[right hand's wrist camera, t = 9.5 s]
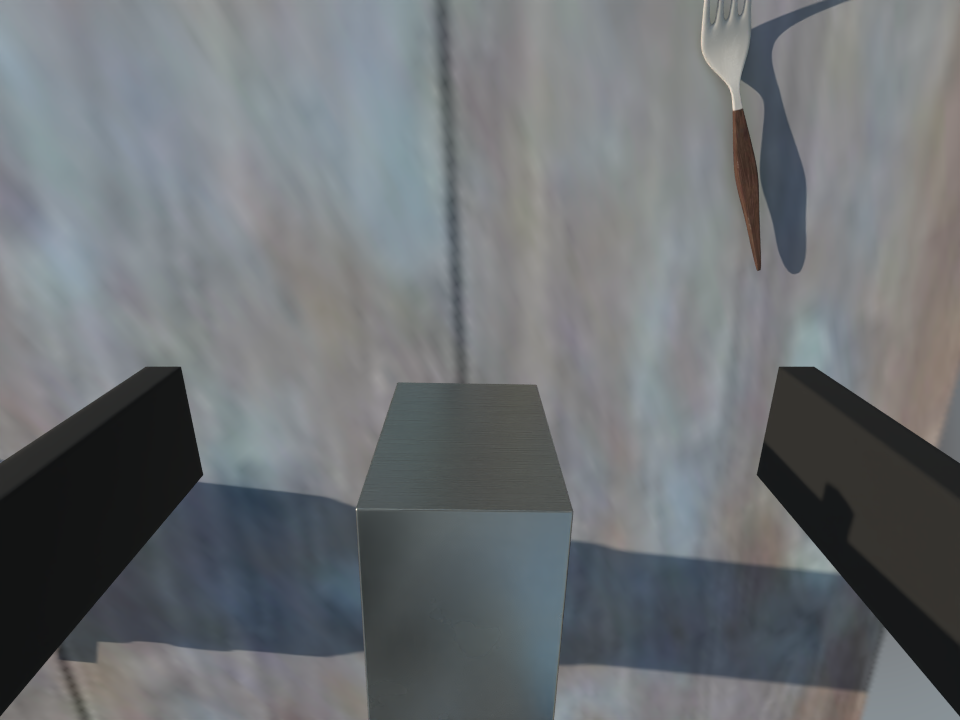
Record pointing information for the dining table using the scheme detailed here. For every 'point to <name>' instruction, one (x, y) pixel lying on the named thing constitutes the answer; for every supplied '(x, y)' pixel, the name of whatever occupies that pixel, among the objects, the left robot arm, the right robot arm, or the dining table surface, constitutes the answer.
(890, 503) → the right robot arm
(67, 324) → the dining table surface
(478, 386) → the bar
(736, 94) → the fork
